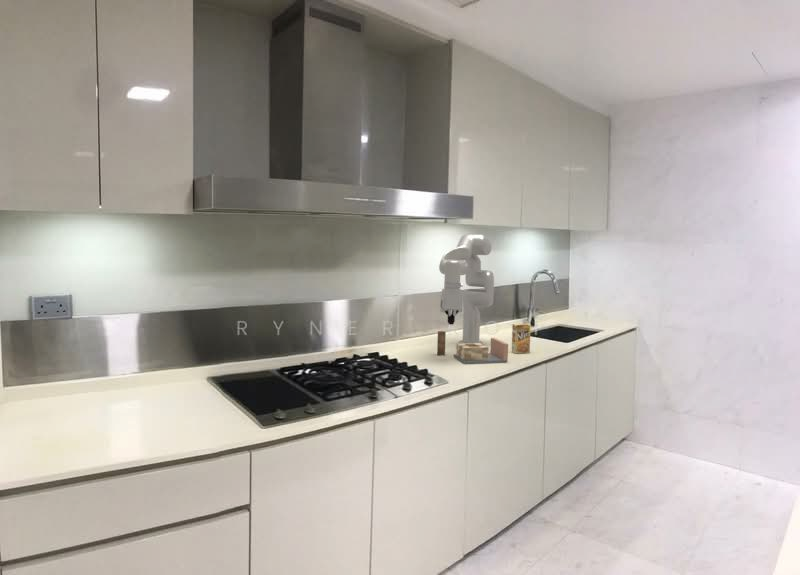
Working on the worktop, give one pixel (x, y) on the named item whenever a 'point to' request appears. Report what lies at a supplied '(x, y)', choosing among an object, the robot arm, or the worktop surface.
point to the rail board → (490, 360)
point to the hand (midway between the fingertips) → (450, 323)
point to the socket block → (472, 351)
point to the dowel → (441, 343)
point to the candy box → (521, 338)
